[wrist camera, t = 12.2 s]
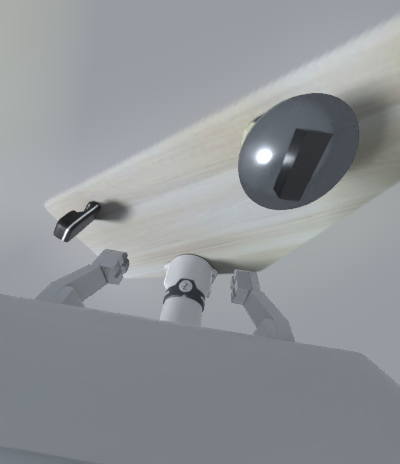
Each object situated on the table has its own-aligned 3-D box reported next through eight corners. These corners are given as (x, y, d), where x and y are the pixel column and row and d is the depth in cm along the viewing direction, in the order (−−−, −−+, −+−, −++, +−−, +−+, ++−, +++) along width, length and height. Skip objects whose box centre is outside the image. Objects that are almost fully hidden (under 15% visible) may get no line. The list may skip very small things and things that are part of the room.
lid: (315, 211, 24) (329, 227, 21) (229, 200, 25) (230, 214, 22) (381, 100, 16) (421, 98, 13) (253, 88, 17) (260, 83, 14)
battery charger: (88, 197, 44) (54, 219, 35) (101, 206, 46) (71, 230, 37) (81, 212, 48) (48, 236, 39) (93, 220, 49) (64, 245, 40)
